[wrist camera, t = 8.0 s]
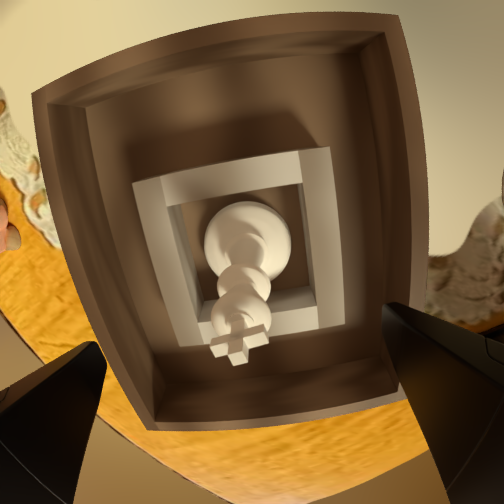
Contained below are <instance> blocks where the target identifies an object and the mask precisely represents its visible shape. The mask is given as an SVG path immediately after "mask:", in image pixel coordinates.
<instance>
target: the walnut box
mask: <svg viewBox="0 0 504 504" xmlns="http://www.w3.org/2000/svg"><path fill="white" fill-rule="evenodd" d="M31 94H32V107H33V115H34V123H35V132H36V139H37V145H38V152H39V157H40V163H41V168H42V173H43V178H44V183H45V187H46V192H47V196H48V200H49V204H50V208H51V212H52V216H53V220H54V223H55V227H56V230H57V234H58V237H59V240H60V244H61V247H62V250H63V253H64V256H65V259H66V262H67V265H68V268H69V271H70V274H71V276H72V279H73V282H74V285H75V287H76V290H77V293H78V295H79V298H80V300H81V303H82V305H83V308H84V310H85V312H86V315H87V317H88V320H89V322H90V324H91V326H92V329H93V331H94V333H95V335H96V338H97V340H98V342H99V344H100V346H101V348H102V350H103V352H104V354H105V356H106V358H107V360H108V362H109V364H110V366H111V368H112V370H113V372H114V374H115V376H116V378H117V380H118V382H119V383H120V385H121V387H122V389H123V391H124V392H125V394H126V396H127V398H128V399H129V401H130V403H131V405H132V406H133V408H134V410H135V411H136V413H137V415H138V416H139V418H140V420H141V421H142V423H143V424H144V426H145V428H146V429H147V430H153V431H217V430H236V429H249V428H260V427H270V426H278V425H286V424H293V423H300V422H307V421H313V420H319V419H324V418H330V417H335V416H340V415H345V414H349V413H354V412H358V411H362V410H367V409H371V408H375V407H378V406H382V405H386V404H390V403H393V402H397V401H400V400H404V399H407V397H406V395H405V392H404V390H403V388H402V386H401V384H400V382H399V380H398V377H397V375H396V373H395V370H394V367H393V364H392V361H391V358H390V355H389V352H388V349H387V347H386V344H385V341H384V338H383V335H382V331H381V322H382V307H383V305H384V304H386V303H390V302H399V303H401V304H404V305H406V306H409V307H411V308H414V309H416V310H419V311H421V312H424V307H425V297H426V286H427V271H428V250H429V247H428V246H429V203H428V202H429V200H428V178H427V166H426V165H427V164H426V153H425V143H424V134H423V127H422V120H421V113H420V106H419V100H418V95H417V89H416V84H415V79H414V74H413V69H412V65H411V60H410V56H409V53H408V48H407V45H406V40H405V37H404V33H403V30H402V26H401V23H400V20H399V17H398V15H391V14H379V13H365V12H304V13H289V14H277V15H268V16H259V17H253V18H245V19H239V20H233V21H228V22H222V23H217V24H212V25H207V26H203V27H198V28H194V29H190V30H186V31H182V32H178V33H174V34H171V35H167V36H164V37H160V38H157V39H154V40H151V41H148V42H145V43H142V44H139V45H136V46H133V47H130V48H127V49H125V50H122V51H119V52H117V53H114V54H112V55H109V56H106V57H104V58H102V59H99V60H97V61H94V62H92V63H90V64H88V65H86V66H83V67H81V68H79V69H77V70H75V71H73V72H70V73H69V74H67V75H65V76H63V77H60V78H59V79H57V80H55V81H53V82H51V83H49V84H47V85H45V86H44V87H42V88H40V89H38V90H36V91H35V92H33V93H31ZM243 201H252V202H258V203H261V204H264V205H267V206H269V207H270V208H272V209H274V210H275V211H276V212H277V213H278V214H279V215H280V216H281V217H282V218H283V219H284V221H285V222H286V224H287V226H288V228H289V231H290V235H291V253H290V257H289V260H288V263H287V265H286V266H285V268H284V270H283V271H282V272H281V273H280V274H279V275H278V276H277V277H276V278H275V279H273V280H272V281H270V284H271V290H270V294H269V297H268V299H267V300H266V303H267V305H268V306H269V309H270V311H271V316H272V320H271V325H270V328H269V330H268V332H267V333H268V337H269V343H268V344H264V345H261V346H257V347H254V348H250V349H249V350H248V363H244V364H240V365H236V366H233V364H232V363H231V361H230V359H229V357H228V355H224V356H220V357H216V358H215V356H214V354H213V352H212V350H211V349H210V342H211V338H215V337H219V335H218V334H217V333H216V331H215V330H214V328H213V326H212V323H211V312H212V308H213V306H214V304H215V303H216V302H217V300H218V299H219V298H220V296H219V294H218V291H217V282H218V279H219V277H218V276H217V275H216V274H215V273H214V271H213V270H212V269H211V267H210V266H209V264H208V262H207V259H206V256H205V252H204V237H205V232H206V229H207V227H208V224H209V223H210V221H211V220H212V218H213V217H214V216H215V215H216V214H217V213H218V212H219V211H220V210H221V209H223V208H225V207H226V206H228V205H231V204H233V203H237V202H243Z"/></svg>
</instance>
